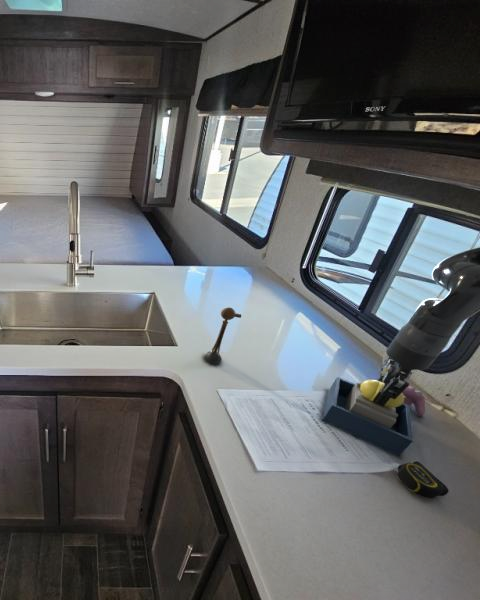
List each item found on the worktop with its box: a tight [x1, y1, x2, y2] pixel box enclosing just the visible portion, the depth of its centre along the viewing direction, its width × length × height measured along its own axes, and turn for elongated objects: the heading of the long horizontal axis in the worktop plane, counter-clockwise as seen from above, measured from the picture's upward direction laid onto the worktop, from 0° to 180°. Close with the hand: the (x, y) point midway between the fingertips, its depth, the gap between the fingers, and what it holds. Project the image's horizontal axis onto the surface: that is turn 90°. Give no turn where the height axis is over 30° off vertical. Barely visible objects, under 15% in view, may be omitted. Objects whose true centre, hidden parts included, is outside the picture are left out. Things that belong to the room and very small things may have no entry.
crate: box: [322, 376, 414, 457], centre depth 83 cm, size 16×14×6 cm
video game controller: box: [402, 385, 426, 417], centre depth 89 cm, size 10×5×7 cm, turn 65°
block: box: [344, 381, 398, 429], centre depth 83 cm, size 8×10×9 cm
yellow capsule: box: [360, 379, 404, 407], centre depth 79 cm, size 8×5×5 cm, turn 51°
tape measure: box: [396, 460, 449, 499], centre depth 69 cm, size 7×7×4 cm
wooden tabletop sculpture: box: [204, 306, 242, 366], centre depth 98 cm, size 6×5×20 cm
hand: (377, 396), depth 80 cm, fingers closed on yellow capsule, 5 cm apart
